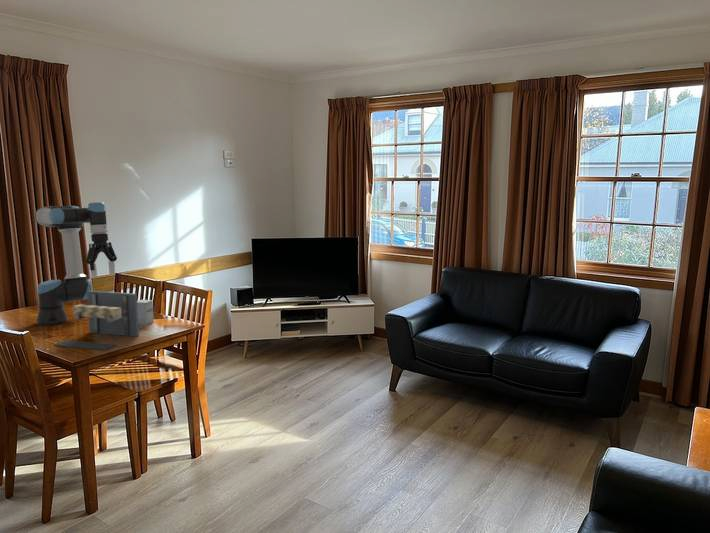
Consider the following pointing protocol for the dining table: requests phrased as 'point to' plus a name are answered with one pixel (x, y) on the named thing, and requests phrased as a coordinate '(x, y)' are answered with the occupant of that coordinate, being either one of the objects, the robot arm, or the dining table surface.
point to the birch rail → (97, 311)
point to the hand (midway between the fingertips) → (103, 275)
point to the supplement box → (145, 311)
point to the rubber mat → (85, 345)
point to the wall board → (117, 301)
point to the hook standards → (110, 316)
